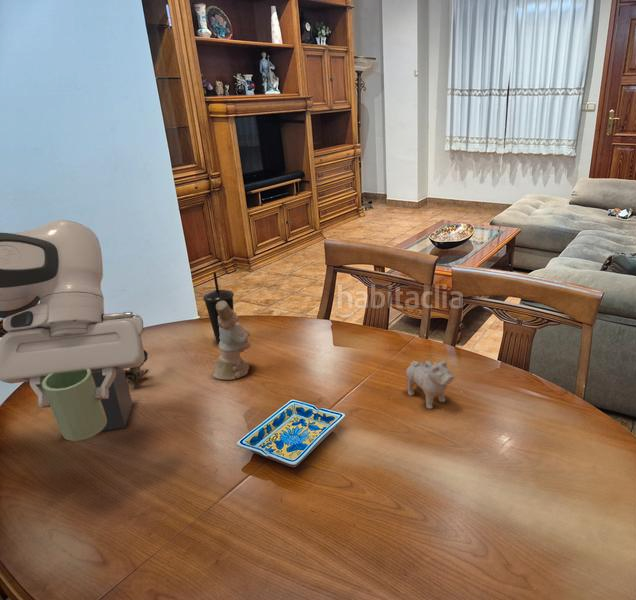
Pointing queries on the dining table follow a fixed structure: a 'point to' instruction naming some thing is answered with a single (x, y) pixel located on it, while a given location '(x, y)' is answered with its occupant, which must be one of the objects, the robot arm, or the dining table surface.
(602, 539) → the dining table surface
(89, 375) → the green cup
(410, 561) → the dining table surface
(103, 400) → the stand
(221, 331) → the figurine
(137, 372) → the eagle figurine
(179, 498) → the dining table surface
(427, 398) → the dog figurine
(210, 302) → the drinking cup
